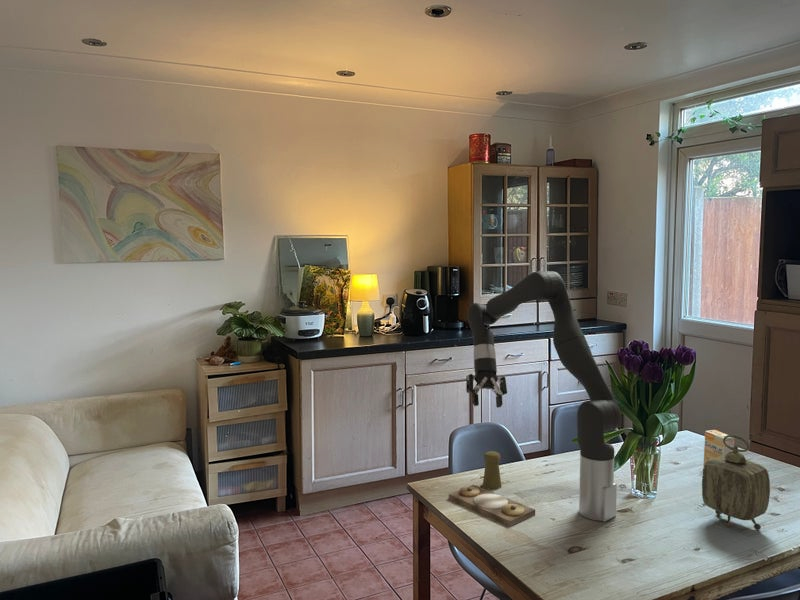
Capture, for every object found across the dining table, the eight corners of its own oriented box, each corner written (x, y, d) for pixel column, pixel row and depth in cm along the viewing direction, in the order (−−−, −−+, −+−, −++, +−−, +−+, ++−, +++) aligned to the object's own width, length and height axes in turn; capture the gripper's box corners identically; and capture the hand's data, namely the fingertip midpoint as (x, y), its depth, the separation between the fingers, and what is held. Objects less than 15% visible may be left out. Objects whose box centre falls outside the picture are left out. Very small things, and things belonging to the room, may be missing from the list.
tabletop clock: (768, 531, 159) (772, 440, 157) (749, 540, 154) (754, 446, 152) (715, 511, 171) (718, 426, 169) (696, 518, 167) (700, 431, 164)
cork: (499, 481, 194) (499, 449, 193) (503, 489, 188) (503, 455, 187) (481, 482, 194) (481, 449, 193) (484, 489, 188) (484, 455, 187)
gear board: (535, 514, 170) (535, 504, 170) (510, 526, 163) (510, 516, 163) (473, 489, 188) (473, 480, 188) (448, 498, 181) (448, 489, 181)
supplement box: (702, 467, 205) (703, 430, 204) (713, 466, 206) (715, 429, 205) (722, 476, 197) (723, 437, 196) (733, 474, 198) (735, 436, 197)
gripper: (471, 354, 198) (473, 403, 193) (508, 358, 203) (512, 405, 197) (461, 360, 205) (463, 407, 199) (497, 363, 210) (500, 409, 204)
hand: (487, 406), depth 198 cm, fingers open, 8 cm apart
